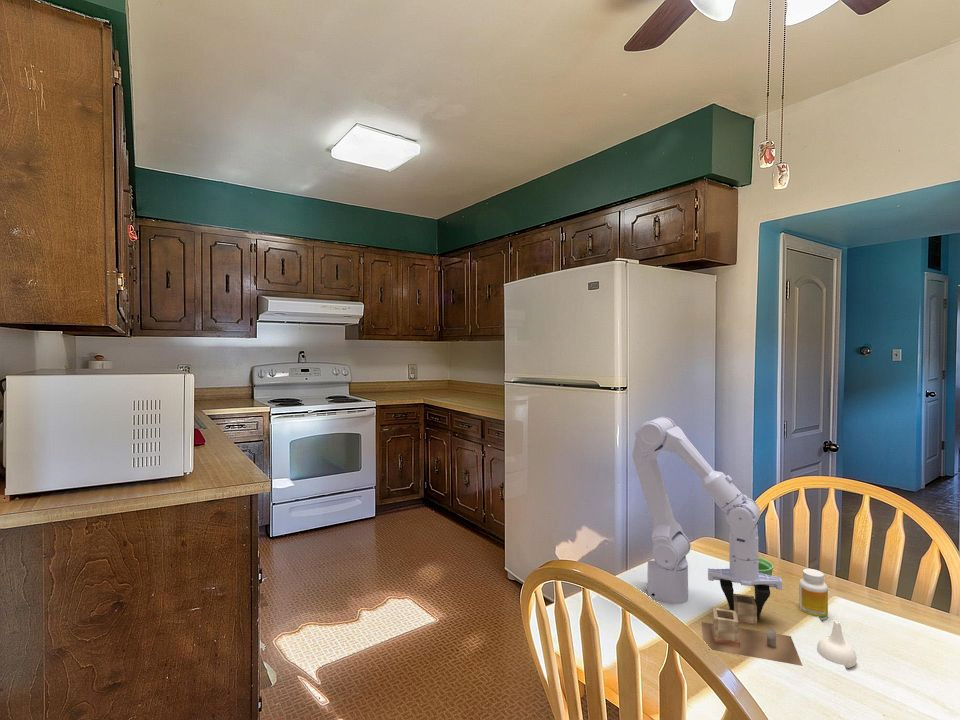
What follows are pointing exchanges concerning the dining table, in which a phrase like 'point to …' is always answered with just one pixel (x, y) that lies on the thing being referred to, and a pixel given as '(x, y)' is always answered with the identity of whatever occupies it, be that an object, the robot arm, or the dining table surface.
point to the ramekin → (765, 566)
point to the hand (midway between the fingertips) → (744, 615)
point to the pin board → (757, 645)
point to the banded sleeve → (745, 608)
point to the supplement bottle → (813, 594)
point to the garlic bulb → (837, 648)
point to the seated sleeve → (725, 627)
